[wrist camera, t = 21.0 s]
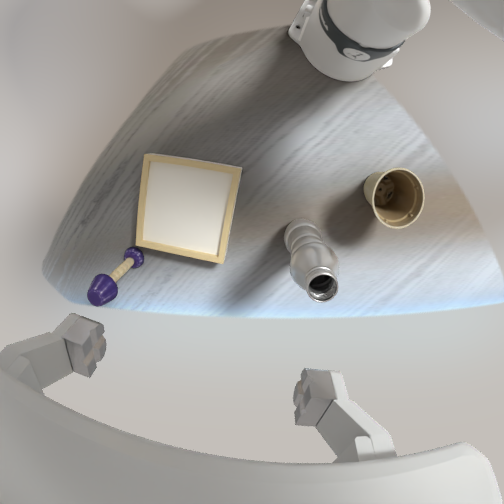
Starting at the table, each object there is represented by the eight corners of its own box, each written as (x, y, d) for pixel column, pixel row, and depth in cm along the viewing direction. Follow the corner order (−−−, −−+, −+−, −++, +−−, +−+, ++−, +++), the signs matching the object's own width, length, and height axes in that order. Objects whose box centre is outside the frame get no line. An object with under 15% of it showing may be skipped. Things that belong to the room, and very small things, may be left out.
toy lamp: (134, 240, 51) (89, 279, 35) (151, 257, 52) (111, 301, 36) (121, 256, 52) (77, 296, 36) (137, 272, 53) (98, 317, 37)
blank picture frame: (152, 153, 44) (144, 154, 41) (242, 167, 45) (240, 169, 41) (143, 238, 50) (135, 245, 47) (226, 255, 51) (223, 263, 47)
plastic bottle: (296, 258, 50) (313, 323, 32) (275, 228, 49) (281, 281, 30) (326, 238, 49) (360, 294, 30) (306, 207, 47) (332, 249, 28)
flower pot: (399, 215, 47) (421, 229, 38) (353, 215, 47) (370, 229, 39) (402, 165, 43) (426, 170, 35) (355, 161, 44) (373, 165, 36)
